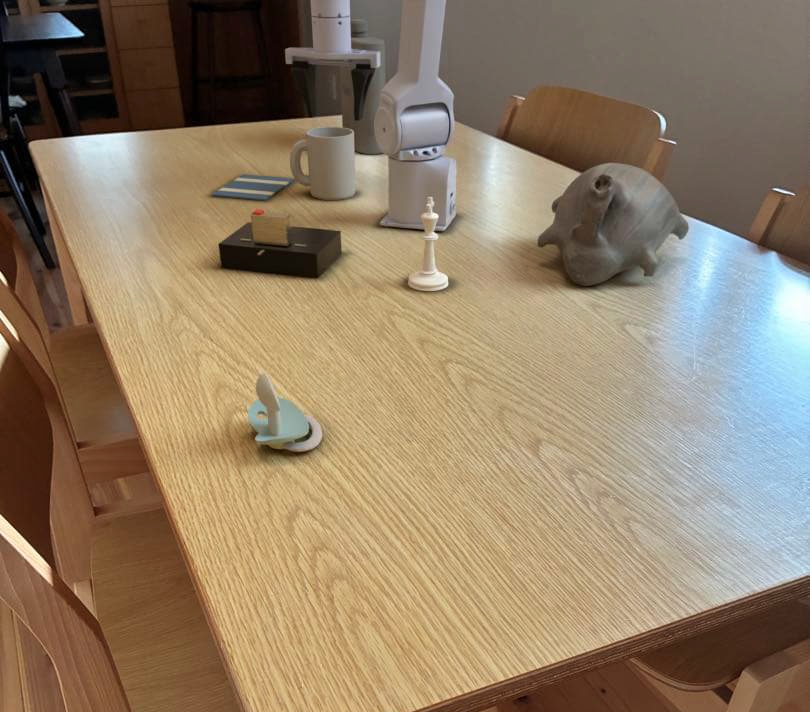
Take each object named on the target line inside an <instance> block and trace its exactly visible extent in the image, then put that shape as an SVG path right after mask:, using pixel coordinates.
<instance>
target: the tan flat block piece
mask: <svg viewBox="0 0 810 712" xmlns="http://www.w3.org/2000/svg"><path fill="white" fill-rule="evenodd" d="M250 220H251V221H250V222H252V231H253V240H254V243H257V244H266V245H276V246H286V247H287V246H288V245H290V244H291V243H292V238H291V226H292V225H291V217H290V213H285V212H284V213H283V212H273V211H265V210H264V209H261V208H260V209H259V208H255V209H254V210H253V211H252V212H251V214H250Z"/></svg>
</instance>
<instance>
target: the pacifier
mask: <svg viewBox="0 0 810 712" xmlns="http://www.w3.org/2000/svg"><path fill="white" fill-rule="evenodd" d="M255 391H256V396H257V399H255V400H254V401H253V402H252V403H251V404H250V405H249V408H248V409H247V410H248V411H247V420H248V422H249V425H250V427H251V428H252V429H253V430H254V431H255V432H256V433H258V434H256V436H255V437H254V440H255V443H256V444H258V445H268V446H269V447H270V448H272V449H275V450H287V451H291V452H298V453H300V452H308V451H311V450H313V449H314V448H316V447H317V446H318V445H319V444H320V443H321V441H322V439H323V430H322V427H321V425H320V424H319V422H318V420H316V419H315V418H313V416H310V415H309V414H305V413H303V411H302V410H301V409H300V408H299V407H298V406H297V405H296V404H294V403H293V402H291V401H290V400H289V399H286V398H284V397H283V398H282V397H279V396H278V395H277V393H276V390H275V388H274V386H273V383H272V380H271V379H270V378H269V376H268V374H267V373H266V372H264V373H262V374H260V375H259V376H258V378H257V380H256V382H255ZM259 415H264V416H265V418H259V417H258V416H259ZM309 431H311V433H312V434H311V435H310V437H309V438H308V439H307V440H305V441H300V442H295V440H298V439H301V438H303V437H305V436H306V435H308V433H309Z"/></svg>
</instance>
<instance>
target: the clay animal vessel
mask: <svg viewBox="0 0 810 712" xmlns="http://www.w3.org/2000/svg"><path fill="white" fill-rule="evenodd" d="M551 211H552V213H553V214H554V218H553V221H552V223H551V224H550V225H549V227H547V228H546V229H545V230H544V231H542V232H541V233H540V234H539V236H538V238H537V248H544V247H546V246H549V245H551V246H556V247H557V249H558V250H559V252H560V254H561V255H562V258H563V265H564V268H565V271H566V273H567V275H568V277H569V279H570V280H571V281H572V282H574V283H575V285H578V286H582V287H589V286H594V285H598V284H601V283H605V282H606V281H608V280H610V279H611V278H612V277H614V276H615V275H617V274H620V273H622V272H626V271H628V270H629V269H633V268H634V267H636V266H637V267H640V268H641V269H642V270H643V277H644V278H646V277H654V275H655V274H656V273H657V272H658V270H659V268H660V262H659V259H658V256H657V254H656V252H657V251H659V250H660V248H661V247H662V246H663V244H664V243H665V242H666V240H667V239H668V237H669V236H670V235H675V236H676V237H677V238H678V240H681V241H682V240H683V239H684V238H685V237H686V236H687V234H688V232H689V230H690V226H689V223H688V221H687V220H686V219H685V218H684V216H683V215H682V213H681V212H680V210H679V206H678V204H677V202H676V200H675V199H674V197H673V196H672V194H671V193H670V191H669V190H668V189H667V188H666V186H664V184H662V183H661V181H659V179H657V178H656V177H654V175H652V174H651V173H650V172H648V171H647V170H644V169H643V168H640V167H638V166H635V165H631V164H626V163H618V162H605V163H601V164H598V165H595V166H593V167H590V168H588V169H586V170H585V171H583V172H581V173H580V174H579V175H578V176H577V177H575V178H574V179H573V181H571V183H570V184H569V185H568V186H567V187H566V188H565V190H564V192H563V193H562V195H560V196H559V197H557V198H555V199H554V200H553V202H552V204H551Z"/></svg>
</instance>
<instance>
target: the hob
mask: <svg viewBox="0 0 810 712" xmlns="http://www.w3.org/2000/svg"><path fill="white" fill-rule="evenodd" d="M290 226H291V238H292V243H291V244H290V245H288V246H287V247H286V246H276V245H266V244H257V243H254V240H253V231H252V222H251V221H248V222H246V223H245V224H244V225H242V226H241V227H239V228H238V229H236V230H235V231H234V232H232V233H231V234H229V236H227V237H226V238H224V239H223V240H221V241H220V242H218V244H217V245H218V253H219V259H220V266H221V268H223V269H230V270H231V269H232V270H240V271H250V272H259V273H268V274H277V275H286V276H295V277H296V276H297V277H304V278H312V279H313V278H314V279H318V278H320V277H321V276H322V274H324V273H325V272H326V270H328V268H329V267H331V265H333V263H334V262H335V261H337V259H338V258H340V256H342V253H343V252H342V233H341V230H336V229H325V228H315V227H305V226H293V225H290Z"/></svg>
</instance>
